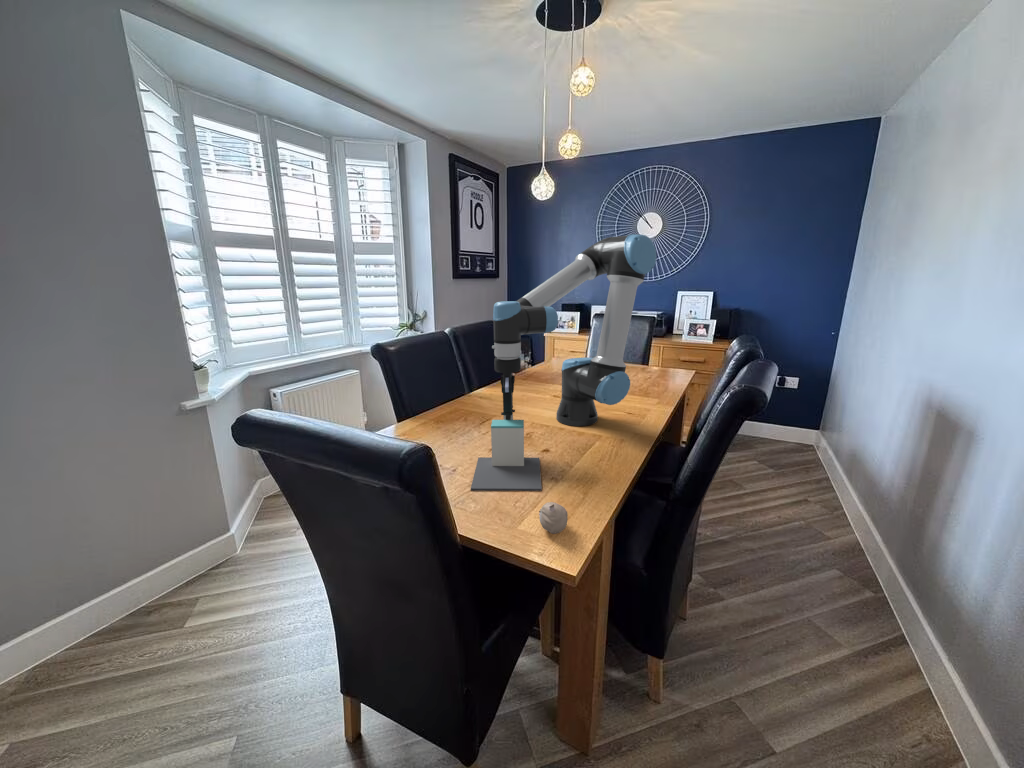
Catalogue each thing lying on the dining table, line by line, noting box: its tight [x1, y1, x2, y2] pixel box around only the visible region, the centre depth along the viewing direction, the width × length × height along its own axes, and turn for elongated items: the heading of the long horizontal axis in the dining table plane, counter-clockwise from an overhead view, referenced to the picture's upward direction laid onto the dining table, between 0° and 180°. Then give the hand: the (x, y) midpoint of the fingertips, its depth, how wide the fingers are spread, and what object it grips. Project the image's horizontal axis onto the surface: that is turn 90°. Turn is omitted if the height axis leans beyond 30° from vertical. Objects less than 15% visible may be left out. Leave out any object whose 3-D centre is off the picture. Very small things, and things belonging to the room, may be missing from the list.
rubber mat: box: [470, 456, 543, 492], centre depth 113 cm, size 18×18×1 cm
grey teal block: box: [490, 419, 525, 466], centre depth 117 cm, size 9×5×12 cm, turn 88°
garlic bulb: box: [538, 501, 569, 535], centre depth 88 cm, size 7×6×8 cm
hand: (508, 434), depth 123 cm, fingers closed
